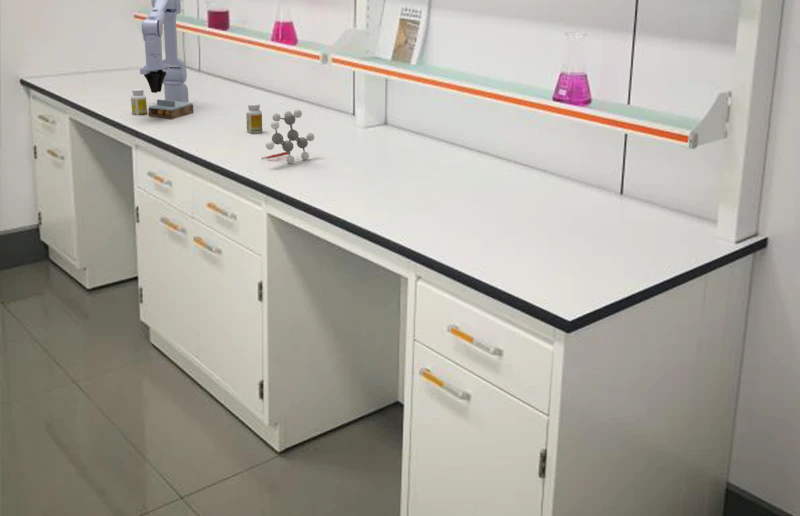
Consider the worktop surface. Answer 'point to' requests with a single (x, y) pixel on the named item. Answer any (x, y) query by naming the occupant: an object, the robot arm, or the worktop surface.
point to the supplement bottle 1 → (138, 102)
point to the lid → (169, 105)
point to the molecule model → (291, 135)
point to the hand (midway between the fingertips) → (156, 92)
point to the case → (172, 112)
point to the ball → (161, 111)
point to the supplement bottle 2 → (254, 118)
